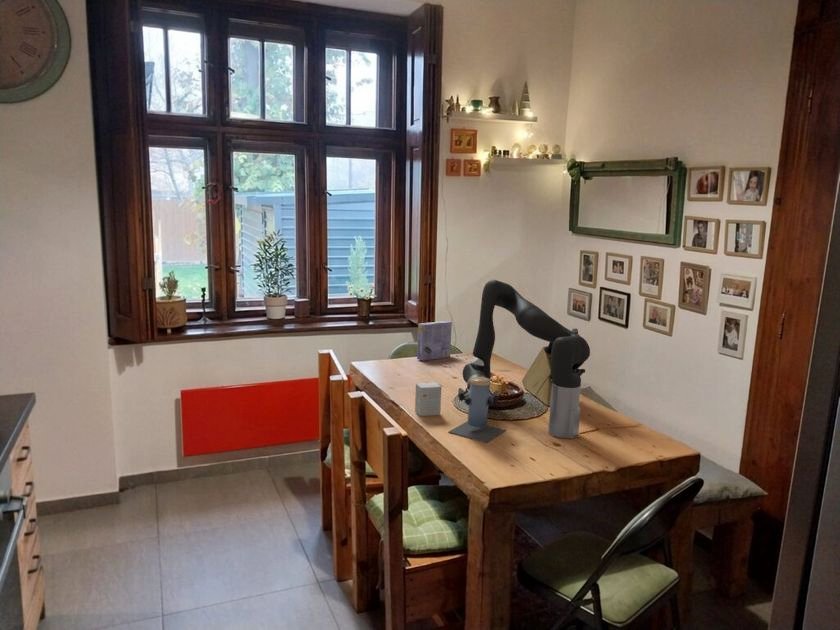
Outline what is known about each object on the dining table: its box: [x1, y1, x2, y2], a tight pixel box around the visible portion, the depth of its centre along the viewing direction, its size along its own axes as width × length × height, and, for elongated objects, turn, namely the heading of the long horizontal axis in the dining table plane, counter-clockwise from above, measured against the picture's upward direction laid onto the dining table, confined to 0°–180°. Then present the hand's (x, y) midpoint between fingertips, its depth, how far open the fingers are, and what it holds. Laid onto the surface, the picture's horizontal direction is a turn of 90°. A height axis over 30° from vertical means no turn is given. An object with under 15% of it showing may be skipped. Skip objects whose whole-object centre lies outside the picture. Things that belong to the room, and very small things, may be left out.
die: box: [470, 356, 484, 366], centre depth 282 cm, size 8×9×10 cm
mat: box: [448, 420, 507, 444], centre depth 209 cm, size 14×14×1 cm
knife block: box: [521, 327, 586, 407], centre depth 245 cm, size 11×35×31 cm, turn 12°
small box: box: [414, 381, 442, 417], centre depth 225 cm, size 8×6×10 cm
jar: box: [467, 377, 491, 427], centre depth 207 cm, size 7×7×15 cm
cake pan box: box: [416, 320, 453, 362], centre depth 303 cm, size 19×5×18 cm, turn 130°
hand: (479, 402), depth 205 cm, fingers closed on jar, 6 cm apart
